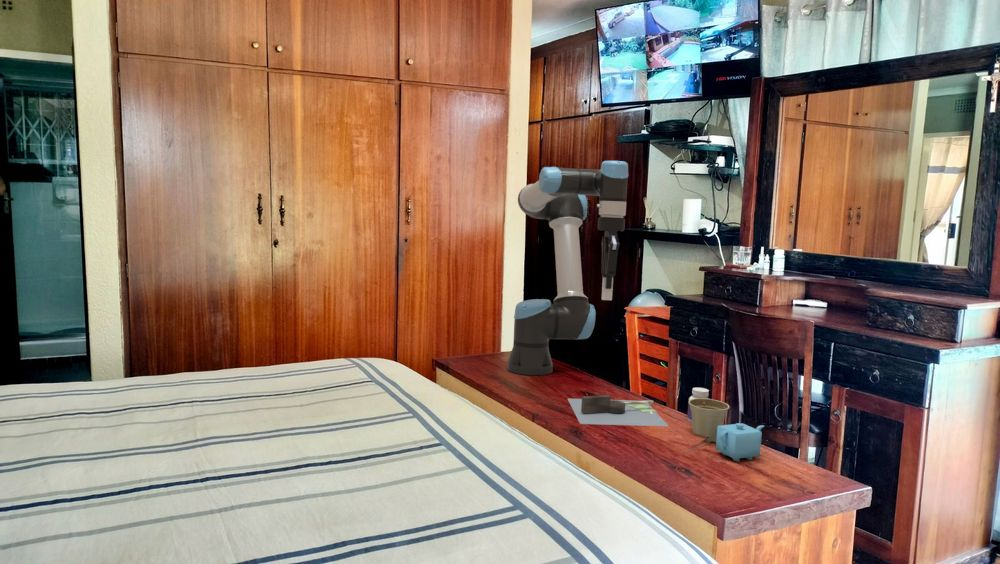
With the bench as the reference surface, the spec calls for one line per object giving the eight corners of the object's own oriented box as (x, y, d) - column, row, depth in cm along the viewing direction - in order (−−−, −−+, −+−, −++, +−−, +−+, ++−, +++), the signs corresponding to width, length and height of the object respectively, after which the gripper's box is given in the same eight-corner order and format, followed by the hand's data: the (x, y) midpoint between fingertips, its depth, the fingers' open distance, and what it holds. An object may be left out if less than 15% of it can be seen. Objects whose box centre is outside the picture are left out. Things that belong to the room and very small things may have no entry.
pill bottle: (696, 431, 168) (699, 393, 167) (682, 424, 173) (684, 387, 172) (713, 429, 171) (716, 391, 170) (698, 422, 176) (701, 385, 175)
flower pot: (729, 447, 158) (732, 411, 157) (687, 443, 159) (690, 407, 158) (724, 434, 167) (726, 400, 166) (684, 430, 169) (687, 396, 168)
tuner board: (567, 403, 187) (567, 397, 187) (645, 406, 188) (646, 400, 188) (579, 429, 165) (580, 423, 165) (668, 432, 167) (669, 425, 166)
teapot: (752, 449, 157) (755, 417, 156) (771, 458, 152) (774, 425, 151) (709, 453, 153) (712, 421, 152) (727, 463, 147) (730, 430, 146)
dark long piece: (648, 405, 183) (649, 390, 182) (658, 410, 178) (659, 396, 178) (578, 409, 176) (578, 394, 176) (586, 415, 171) (587, 400, 171)
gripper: (594, 215, 196) (589, 296, 199) (603, 216, 184) (597, 302, 186) (619, 216, 197) (614, 297, 199) (630, 217, 184) (624, 303, 186)
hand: (606, 299), depth 193 cm, fingers closed
